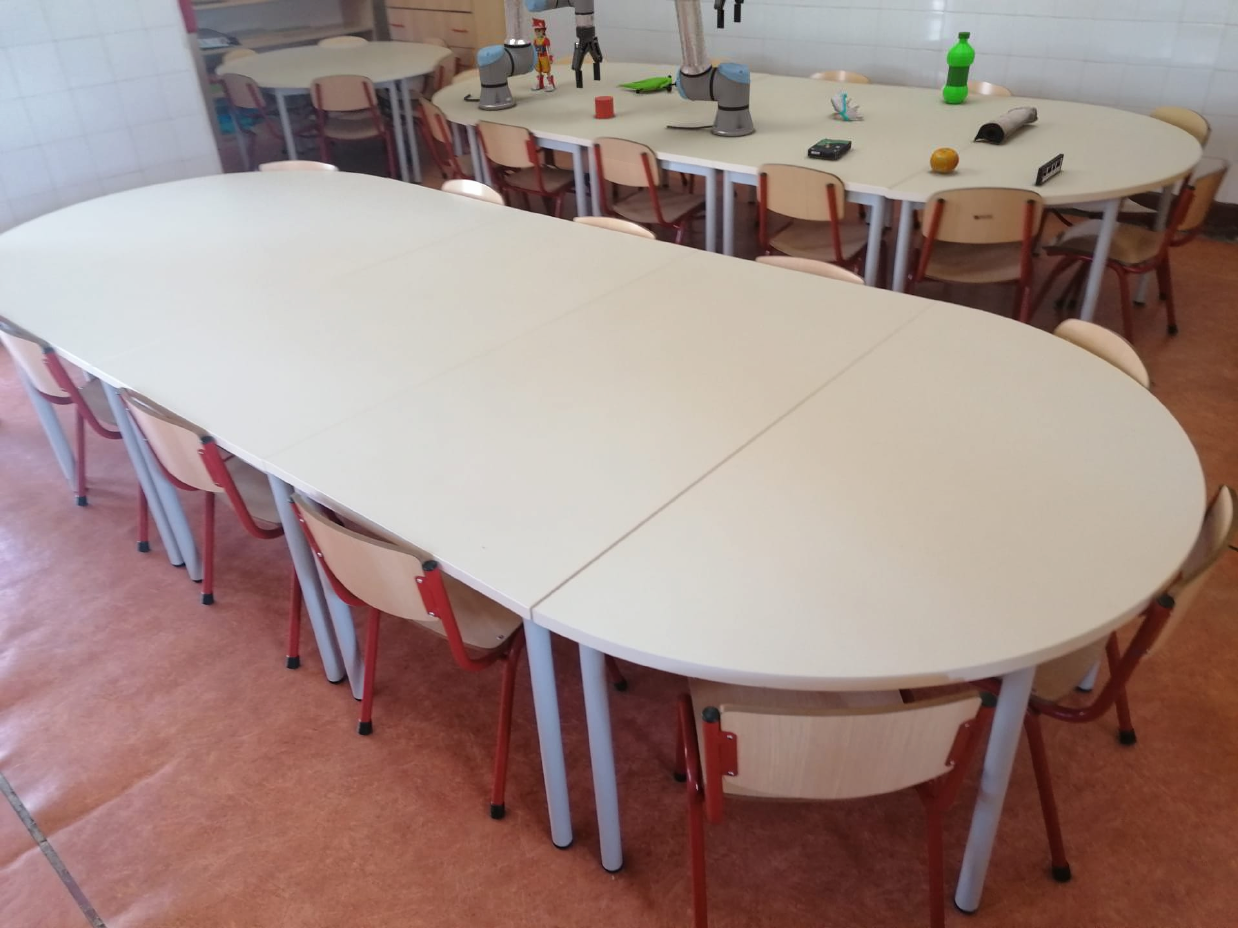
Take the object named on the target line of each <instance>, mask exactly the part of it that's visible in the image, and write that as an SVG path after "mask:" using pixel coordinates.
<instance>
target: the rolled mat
mask: <svg viewBox="0 0 1238 928" xmlns="http://www.w3.org/2000/svg"><path fill="white" fill-rule="evenodd" d="M1038 120H1039V117H1038V110H1037V108H1036V107H1031V106H1021V107H1015V108H1014V107H1013V108H1011V109H1009V110H1008V111H1007V112H1006V113H1004V114H1002V115H1000V116H997V117H996V118H994V119H991V120H989V121H988V122H986V123H984V124H982V125H981V126H980V128H979V129H978V130H977V133H976V135H975V136H974V139H973V141H974V142H976V141H979V140H984V141H986V142H987V143H990V144H995V145H1001V144H1002V143H1003V142H1004V141H1005V140H1006V139H1007V138H1009V136H1010V135H1011V134H1012V133H1014V132H1015V131H1016V130H1018V129H1019V128H1020V127H1022V126H1023V125H1027V124H1034V123H1036V122H1037V121H1038Z"/></svg>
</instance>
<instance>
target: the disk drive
mask: <svg viewBox="0 0 1238 928" xmlns="http://www.w3.org/2000/svg"><path fill="white" fill-rule="evenodd" d="M851 148H852V140H844V139H831V138H829V139H828V138H823V139H820V141H818V142H816V143H815V144H813V145H812V146H810V147H809V148H807V157H809V158H817V159H822V160H823V159H825V160H838V158H840V157H842V156H843V155H844V154H846V152H848V151H850V150H851Z"/></svg>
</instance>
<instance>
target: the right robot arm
mask: <svg viewBox="0 0 1238 928" xmlns="http://www.w3.org/2000/svg"><path fill="white" fill-rule="evenodd" d="M726 2H727V0H714V4H713V10H716V29H725V9H724V8H725V5H726ZM744 3H745V0H734V4H733V23H738V24H740V23H741V22H742V4H743V5H744ZM674 6H675V13H676V20H677V21H676V22H677V28H678V34H679V35H678V36H679V40H680V47H681V54H682V62H680V65H679V68H678V69H677V72H676V76H675V78H676V80H675V82H676V85H677V87H676V89H677V93H678V94H679V96H680V98H681V99H683V100H686V101H692V102H696V101H698V102H700V101H702V102H717V111H716V114H715V118H714V120H713V124H710V125H703V126H702V125H701V126H675V125H666V128H667V129H674V130H675V129H677V130H701V129H703V130H704V129H709V128H712V133H713V134H715V135H717V136H721V137H741V136H746V135H750V134H752V133H754V122H753V118H752V115H751V111H750V94H751V93H750V92H751V71H750V68H749V67H748V66H747V65H744V64H742V63H738V62H725V61H724V62H720V63H719V64H718V65H717V66H713V62H712V59H711V58H710V57H709V56H708V55H707V49H706V48H707V47H706V41H705V40H706V39H705V32H704V24H703V14H702V6H701V0H674Z"/></svg>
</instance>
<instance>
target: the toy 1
mask: <svg viewBox="0 0 1238 928" xmlns="http://www.w3.org/2000/svg"><path fill="white" fill-rule="evenodd" d="M531 18H532V21H533V22H531V23H529V24H531V26H530V27H529V29H533V30H534V34H535V36H536V37H535V36H534V38H533V39H534V40H533V43H532V44H533V45H534V46H535V48H536V49H535V50H536V51H537V56H538V59H537V65H536V67H535V69H534V70H535V71H536V72H537V73H538V75H535V76H536V79H537V81H538V82H537V83H534V84H533V86H532V90H539V89H543V88H545V92H550V91H554V90H555V88H556V86H555V82H554V81H555V80H554V75H551V71H552V66H551V65H553V64H554V59H553V58H554V56H555V54H554V53H553V52H552V49H551V46H552V45H551V40H550V39H549V37H548V36H547V34H546V32H547V29H548V27H547V26H546V21H545V19H539V18H535V17H531ZM545 74H546V75H547V76H546V80H547V82H548V85H546V87H545V84H544V83H545V82H544V79H545V78H544V77H545Z"/></svg>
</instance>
